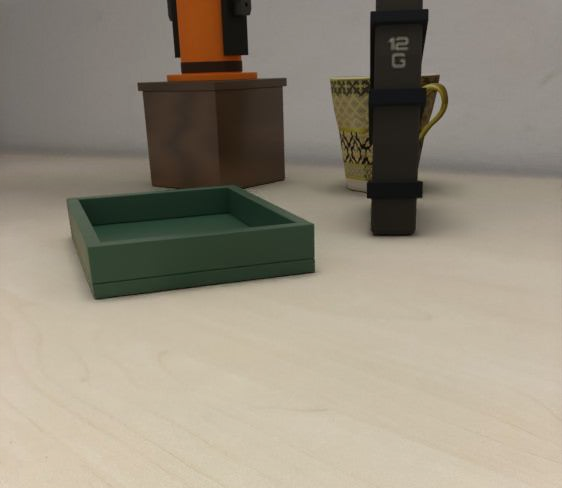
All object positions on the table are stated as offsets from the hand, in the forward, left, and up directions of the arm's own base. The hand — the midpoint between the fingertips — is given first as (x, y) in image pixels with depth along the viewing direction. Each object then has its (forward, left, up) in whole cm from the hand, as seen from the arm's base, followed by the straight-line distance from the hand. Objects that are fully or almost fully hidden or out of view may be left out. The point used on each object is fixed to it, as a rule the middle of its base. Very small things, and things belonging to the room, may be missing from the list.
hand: (211, 56), depth 69 cm
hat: (0, 0, -2) cm, 2 cm away
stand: (0, 0, -12) cm, 12 cm away
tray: (+19, -24, -12) cm, 33 cm away
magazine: (+25, -7, -12) cm, 29 cm away
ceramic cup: (+18, +5, -12) cm, 22 cm away
